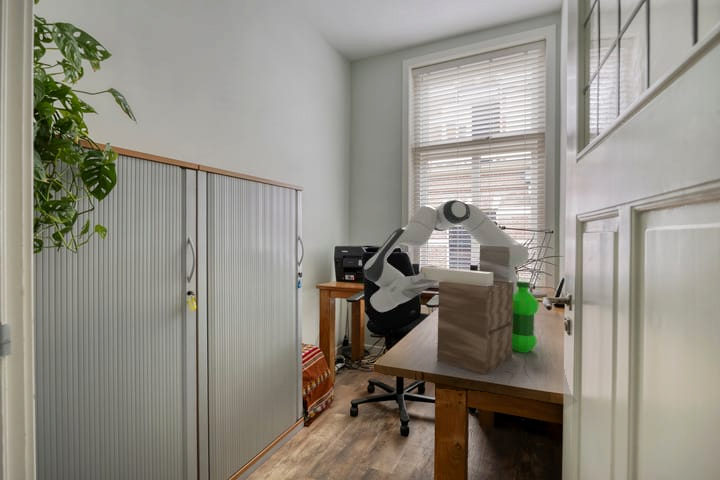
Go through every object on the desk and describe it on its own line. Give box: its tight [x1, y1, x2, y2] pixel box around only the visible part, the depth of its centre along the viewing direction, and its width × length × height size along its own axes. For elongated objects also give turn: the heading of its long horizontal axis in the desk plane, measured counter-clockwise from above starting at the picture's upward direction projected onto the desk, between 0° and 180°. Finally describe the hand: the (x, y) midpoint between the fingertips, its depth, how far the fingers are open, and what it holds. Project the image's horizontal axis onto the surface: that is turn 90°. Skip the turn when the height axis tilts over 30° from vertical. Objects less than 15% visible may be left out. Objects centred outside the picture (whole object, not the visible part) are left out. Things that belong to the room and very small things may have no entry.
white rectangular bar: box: [419, 266, 493, 287], centre depth 115 cm, size 5×24×4 cm, turn 46°
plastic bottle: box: [512, 280, 540, 354], centre depth 126 cm, size 10×10×25 cm
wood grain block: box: [436, 244, 514, 376], centre depth 116 cm, size 22×16×38 cm
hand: (431, 273), depth 121 cm, fingers open, 8 cm apart
